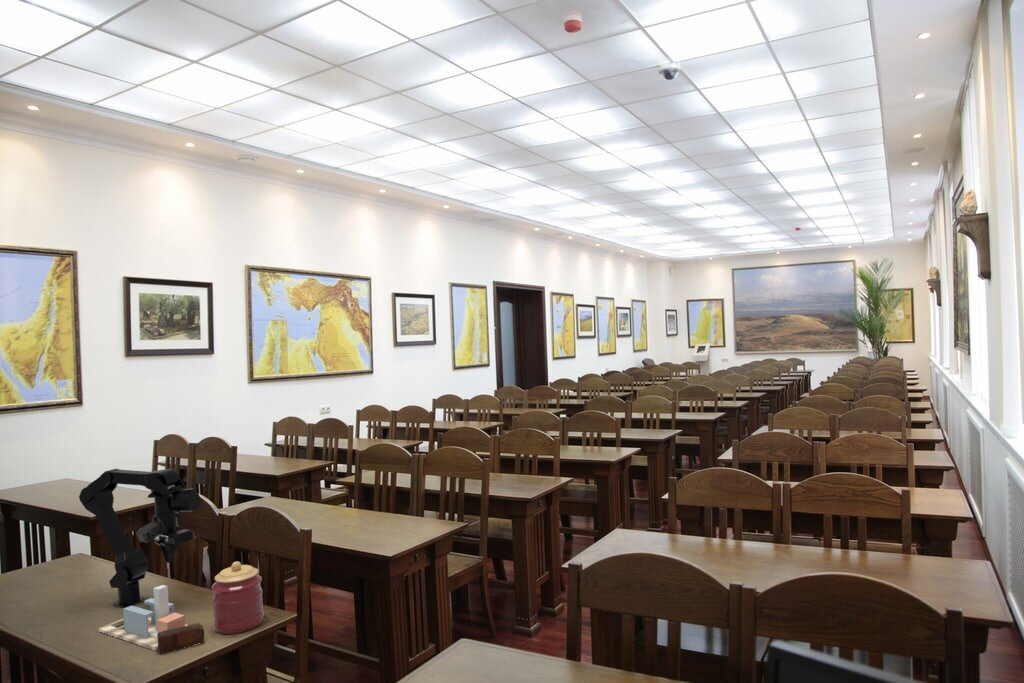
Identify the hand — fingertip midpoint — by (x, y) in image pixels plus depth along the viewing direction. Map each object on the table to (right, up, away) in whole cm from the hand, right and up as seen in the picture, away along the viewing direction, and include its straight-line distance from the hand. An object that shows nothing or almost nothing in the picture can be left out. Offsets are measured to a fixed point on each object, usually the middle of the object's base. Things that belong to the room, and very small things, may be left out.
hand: (169, 561), depth 200 cm
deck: (+4, -13, -19) cm, 23 cm away
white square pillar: (+13, -12, -24) cm, 29 cm away
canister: (+29, -12, -17) cm, 35 cm away
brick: (+18, -13, -29) cm, 37 cm away
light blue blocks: (+5, -13, -20) cm, 24 cm away
